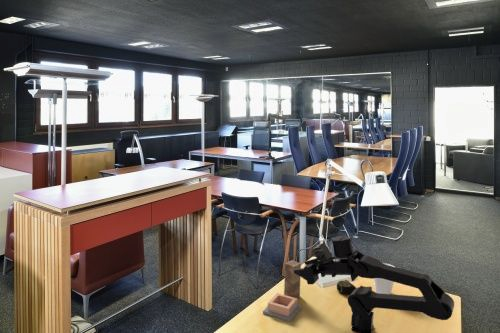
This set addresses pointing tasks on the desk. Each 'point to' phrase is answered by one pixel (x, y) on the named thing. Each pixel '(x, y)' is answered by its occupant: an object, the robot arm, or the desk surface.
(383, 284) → the cup
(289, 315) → the socket stand
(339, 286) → the tape measure
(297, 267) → the walnut pillar
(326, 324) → the desk surface
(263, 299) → the desk surface
